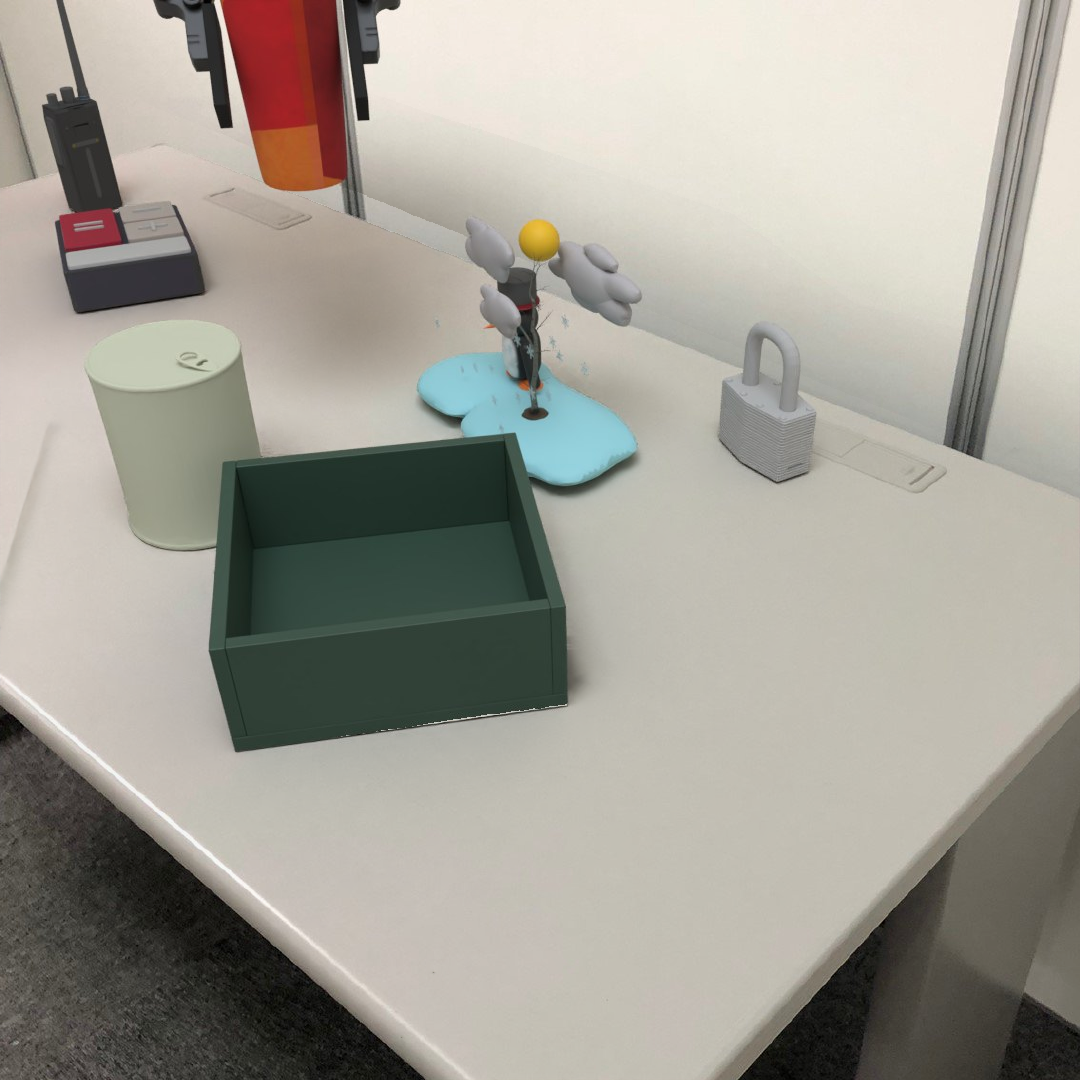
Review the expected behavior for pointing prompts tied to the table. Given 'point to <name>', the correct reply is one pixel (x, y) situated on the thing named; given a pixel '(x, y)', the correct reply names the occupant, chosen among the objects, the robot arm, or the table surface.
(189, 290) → the calculator
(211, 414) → the can
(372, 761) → the table surface
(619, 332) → the table surface
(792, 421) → the padlock
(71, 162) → the walkie-talkie
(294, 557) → the bin
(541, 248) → the blue and grey toy
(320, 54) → the paper cup
